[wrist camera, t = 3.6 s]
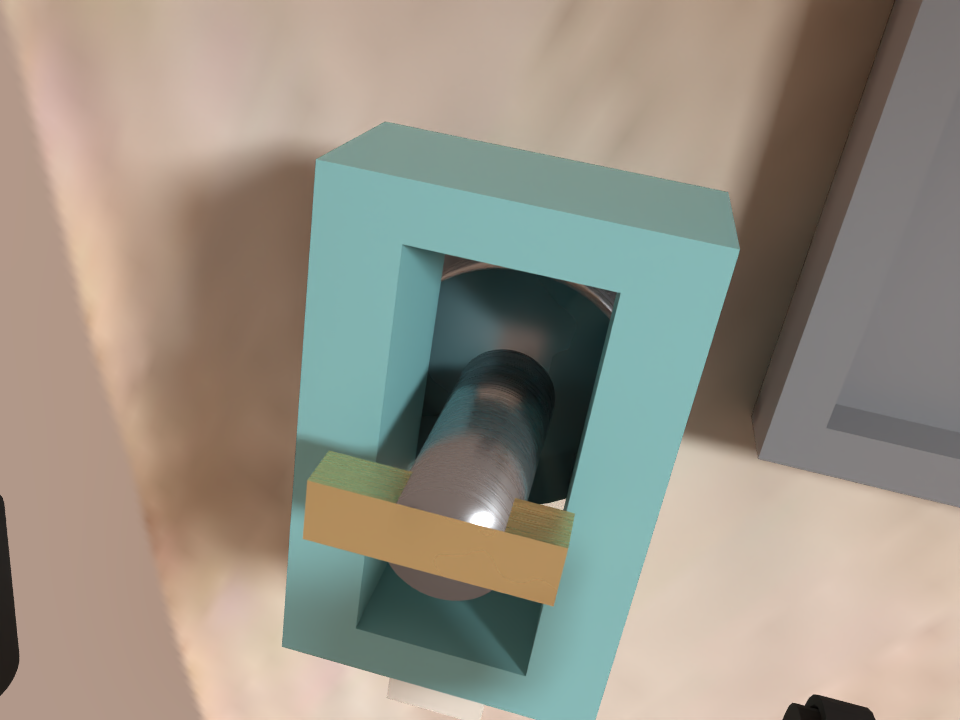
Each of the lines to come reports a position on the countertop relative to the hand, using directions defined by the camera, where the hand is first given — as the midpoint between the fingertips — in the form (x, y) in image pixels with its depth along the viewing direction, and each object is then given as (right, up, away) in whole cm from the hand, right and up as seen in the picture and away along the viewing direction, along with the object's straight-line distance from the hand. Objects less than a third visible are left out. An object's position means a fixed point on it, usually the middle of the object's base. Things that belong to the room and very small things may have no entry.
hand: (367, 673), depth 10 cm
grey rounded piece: (+2, +4, +9) cm, 10 cm away
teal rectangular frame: (+2, +3, +6) cm, 7 cm away
